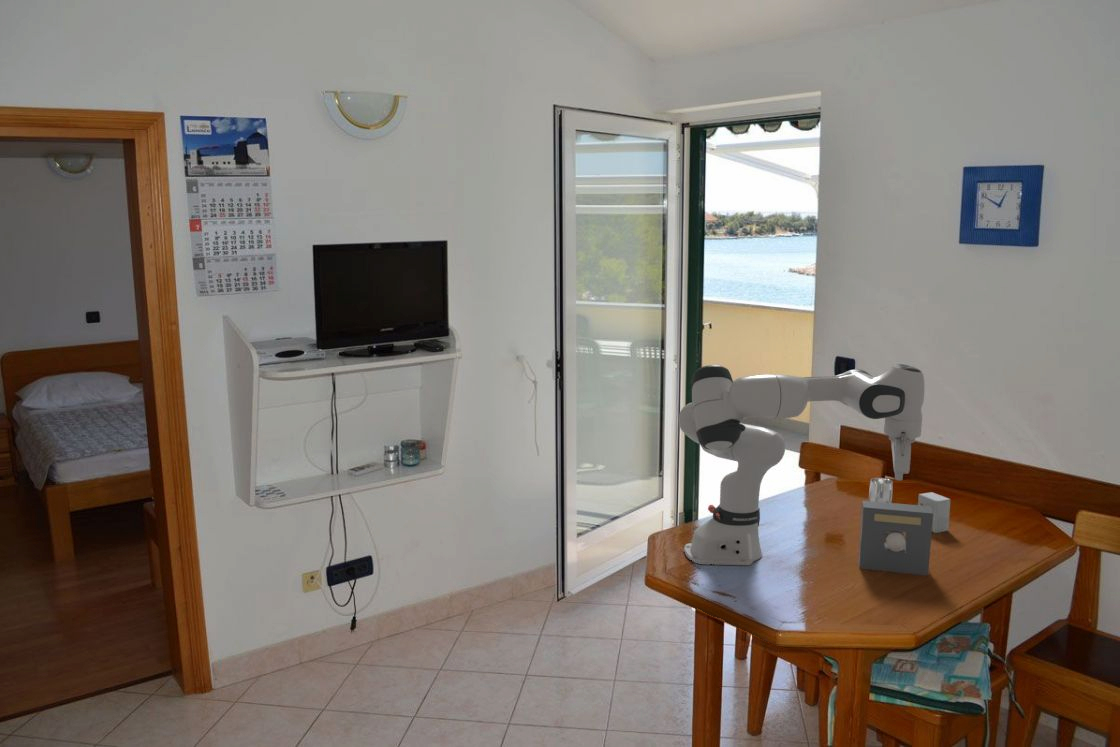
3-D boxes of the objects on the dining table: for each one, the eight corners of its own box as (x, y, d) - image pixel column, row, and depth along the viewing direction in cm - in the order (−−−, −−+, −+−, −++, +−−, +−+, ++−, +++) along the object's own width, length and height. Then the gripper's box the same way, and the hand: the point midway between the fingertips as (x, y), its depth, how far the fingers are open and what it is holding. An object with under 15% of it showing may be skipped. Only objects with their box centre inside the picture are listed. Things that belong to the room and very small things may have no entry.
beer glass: (891, 530, 280) (895, 484, 277) (868, 529, 281) (871, 483, 278) (888, 523, 286) (891, 478, 284) (865, 521, 288) (868, 476, 285)
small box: (948, 531, 279) (951, 499, 277) (934, 533, 277) (937, 501, 275) (929, 522, 287) (932, 491, 285) (915, 525, 285) (918, 493, 283)
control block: (928, 576, 245) (933, 514, 242) (859, 568, 250) (863, 507, 247) (925, 567, 251) (930, 506, 248) (858, 560, 256) (862, 500, 253)
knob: (905, 552, 245) (906, 535, 244) (885, 550, 246) (887, 533, 246) (901, 538, 255) (903, 521, 255) (883, 536, 257) (884, 520, 256)
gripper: (918, 440, 217) (913, 493, 220) (914, 417, 236) (909, 466, 239) (890, 438, 219) (886, 491, 222) (888, 415, 237) (884, 464, 241)
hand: (898, 478), depth 231 cm, fingers closed
